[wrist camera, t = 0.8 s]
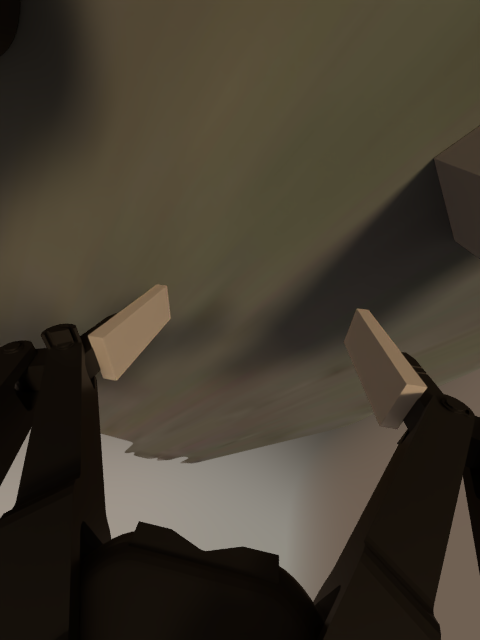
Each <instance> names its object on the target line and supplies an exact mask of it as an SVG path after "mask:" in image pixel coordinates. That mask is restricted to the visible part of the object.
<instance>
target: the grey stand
mask: <svg viewBox="0 0 480 640" xmlns="http://www.w3.org/2000/svg"><path fill="white" fill-rule="evenodd" d="M434 162H435V166H436V170H437V174H438V178H439V182H440V186H441V190H442V193H443V197H444V201H445V205H446V209H447V213H448V217H449V221H450V225H451V229H452V233H453V237H454V240H455V241H456V242H457V243H459V244H460V245H461V246H463V247H464V248H465V249H467V250H468V251H469V252H471V253H472V254H473V255H475V256H476V257H478V258H479V259H480V126H479V127H477V128H476V129H474V130H473V131H471V132H470V133H469V134H467V135H466V136H464V137H463V138H462V139H460V140H459V141H457V142H456V143H454V144H453V145H452V146H450V147H449V148H447V149H446V150H445V151H443V152H442V153H440V154H439V155H438V156H436V157H435V158H434Z"/></svg>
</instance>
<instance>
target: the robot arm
mask: <svg viewBox="0 0 480 640" xmlns="http://www.w3.org/2000/svg"><path fill="white" fill-rule="evenodd" d="M19 13H20V0H0V56H1V55H2V54H3V53H4V52H5V51H6V50H7V49H8V47H9V46H10V44H11V43H12V41H13V38H14V36H15V33H16V30H17V26H18V21H19ZM170 319H171V316H170V308H169V299H168V291H167V286H166V285H158V284H157V285H155V286H154V287H153V288H151V289H150V290H149V291H147V292H146V293H145V294H143V295H142V296H140V297H139V298H138V299H136V300H135V301H134V302H132V303H131V304H130V305H128V306H127V307H126V308H124V309H123V310H122V311H120V312H119V313H118V314H117V313H116V314H113V315H111V316H108V317H106V318H105V319H104V320H102V321H101V323H98V324H97V325H95V326H94V327H93V328H91V329H90V330H88V331H87V332H86V333H84V334H83V335H81V336H79V333H78V331H77V328H76V326H75V325H73V324H59V325H56V326H52V327H50V328H48V329H46V330H45V331H43V332H42V333H41V337H42V339H43V341H44V343H45V345H46V347H47V348H43V349H35V348H34V346H33V344H32V342H30V341H17V342H16V341H15V342H11V343H8V344H6V345H4V346H2V347H0V485H1V484H2V482H3V480H4V478H5V476H6V474H7V472H8V470H9V469H10V467H11V465H12V463H13V461H14V459H15V457H16V455H17V453H18V452H19V450H20V448H21V446H22V444H23V442H24V440H25V438H26V436H27V434H28V433H29V430H30V429H31V433H30V437H29V443H28V447H27V452H26V456H25V461H24V466H23V471H22V476H21V480H20V485H19V490H18V495H17V500H16V503H15V506H14V507H13V509H12V510H10V511H8V512H6V513H4V514H3V515H2V517H1V518H0V640H441V632H440V625H439V623H438V622H437V620H436V619H435V617H434V614H433V607H434V601H435V597H436V592H437V588H438V583H439V579H440V575H441V570H442V566H443V561H444V556H445V552H446V548H447V543H448V539H449V534H450V529H451V525H452V521H453V516H454V512H455V507H456V503H457V498H458V494H459V489H460V485H461V480H462V476H463V479H464V485H465V491H466V497H467V503H468V509H469V514H470V520H471V526H472V532H473V538H474V543H475V549H476V555H477V560H478V566H479V572H480V417H477V416H475V415H474V413H473V412H472V411H471V409H470V408H468V406H466V405H465V404H464V403H463V402H461V401H459V400H458V399H456V398H453V397H451V396H448V395H445V394H443V393H442V392H441V390H440V389H439V388H438V387H437V385H436V384H435V383H434V382H433V381H432V379H431V378H430V377H429V376H428V375H427V374H426V372H425V371H424V369H423V368H421V366H420V365H419V363H418V362H417V361H416V360H415V359H414V358H413V357H411V356H410V355H409V354H407V353H404V352H400V350H399V349H398V348H397V347H396V345H395V344H394V343H393V341H392V340H391V339H390V337H389V336H388V335H387V333H386V332H385V331H384V329H383V328H382V327H381V325H380V324H379V323H378V322H377V320H376V319H375V318H374V316H373V315H372V314H371V312H370V311H369V310H365V309H357V308H356V311H355V314H354V316H353V319H352V322H351V324H350V327H349V330H348V332H347V335H346V337H345V340H344V344H345V346H346V349H347V351H348V353H349V356H350V358H351V360H352V363H353V365H354V367H355V370H356V372H357V374H358V377H359V379H360V381H361V384H362V386H363V388H364V391H365V393H366V395H367V398H368V400H369V402H370V405H371V407H372V409H373V412H374V414H375V416H376V419H377V421H378V423H379V426H382V427H387V428H393V429H398V428H399V426H400V425H401V423H402V422H403V421H404V423H405V425H406V426H407V428H408V429H407V431H406V432H405V434H404V435H403V436H402V437H401V439H400V440H399V442H398V443H397V444H398V447H397V449H396V451H395V453H394V454H393V456H392V458H391V460H390V462H389V464H388V466H387V468H386V470H385V471H384V473H383V475H382V477H381V479H380V481H379V483H378V485H377V487H376V489H375V490H374V492H373V495H372V496H371V498H370V500H369V502H368V504H367V506H366V508H365V510H364V511H363V513H362V515H361V517H360V519H359V521H358V523H357V525H356V527H355V529H354V531H353V532H352V535H351V536H350V538H349V540H348V542H347V544H346V546H345V548H344V550H343V552H342V553H341V555H340V557H339V559H338V561H337V563H336V565H335V567H334V569H333V570H332V572H331V574H330V575H329V577H328V578H327V580H326V581H325V583H324V584H323V586H322V587H321V589H320V591H319V593H318V594H317V596H316V598H315V600H314V602H312V600H311V598H310V597H309V596H308V594H307V593H306V591H305V590H304V589H303V587H302V586H301V585H300V584H299V583H298V582H297V581H296V580H295V579H294V577H292V576H291V575H290V574H289V573H288V572H287V571H286V570H284V569H283V568H281V567H280V566H279V555H275V554H271V553H267V552H263V551H259V550H255V549H251V548H247V547H236V548H228V549H220V550H212V551H203V550H201V549H199V548H198V547H196V546H195V545H193V544H192V543H190V542H189V541H188V540H186V539H185V538H183V537H182V536H180V535H179V534H177V533H176V532H175V531H173V530H172V529H168V528H164V527H160V526H156V525H152V524H148V523H143V522H140V521H139V523H138V525H137V527H136V530H135V531H134V532H130V533H126V534H122V535H120V536H118V537H116V538H113V539H111V535H110V529H109V526H108V522H107V517H106V510H105V496H104V480H103V465H102V451H101V435H100V420H99V406H98V391H97V379H96V377H95V375H96V374H97V373H98V372H99V371H101V373H102V376H103V378H104V379H110V380H115V381H117V380H118V379H119V378H120V376H121V375H122V374H123V373H124V372H125V371H126V369H127V368H128V367H129V366H130V365H131V364H132V363H133V361H134V360H135V359H136V358H137V357H138V356H139V355H140V353H141V352H142V351H143V350H144V349H145V348H146V346H147V345H148V344H149V343H150V342H151V341H152V340H153V338H154V337H155V336H156V335H157V334H158V333H159V331H160V330H161V329H162V328H163V327H164V326H165V325H166V323H167V322H168V321H169V320H170ZM31 427H32V428H31Z"/></svg>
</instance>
